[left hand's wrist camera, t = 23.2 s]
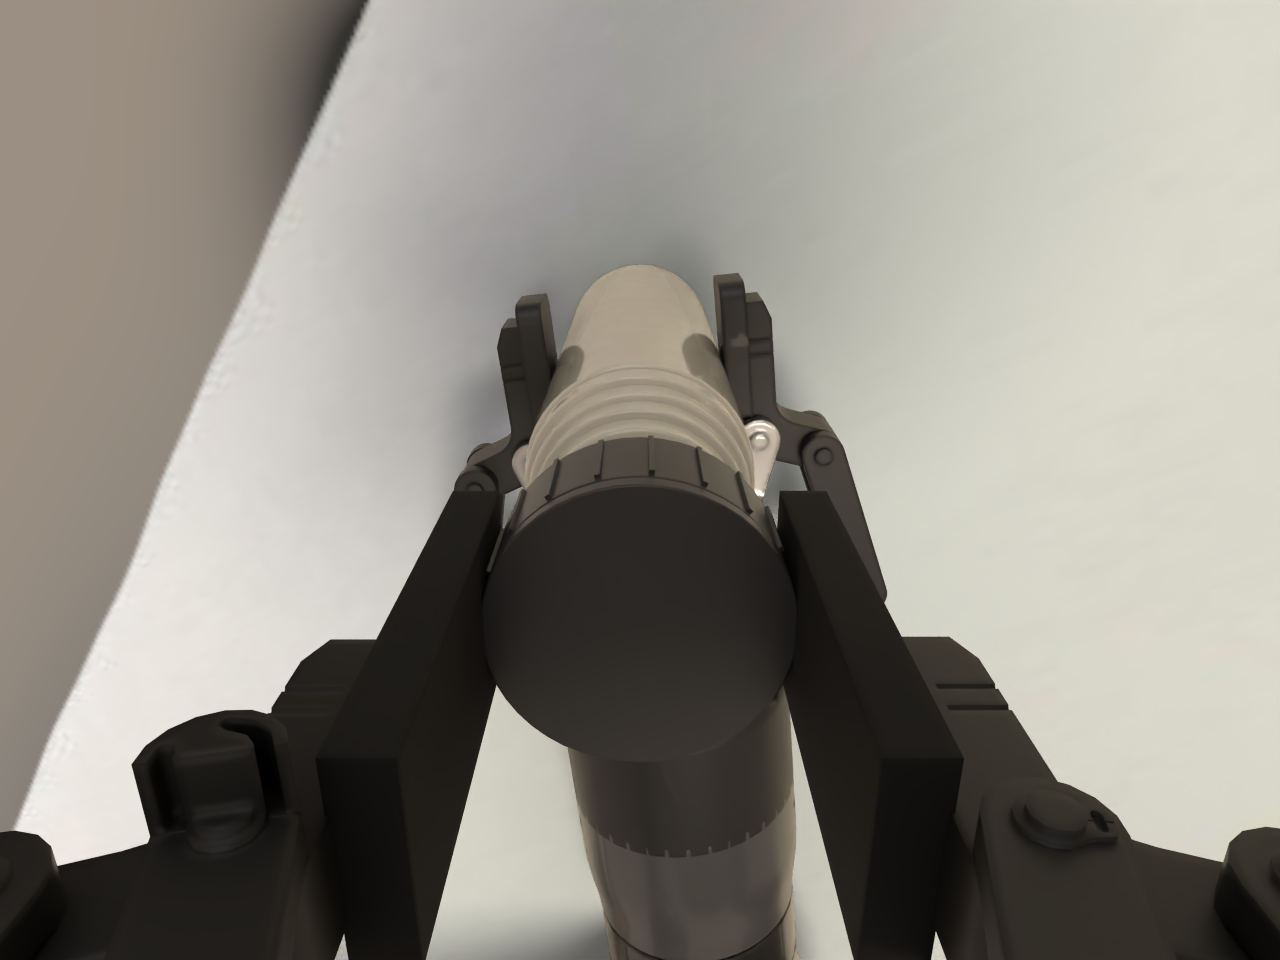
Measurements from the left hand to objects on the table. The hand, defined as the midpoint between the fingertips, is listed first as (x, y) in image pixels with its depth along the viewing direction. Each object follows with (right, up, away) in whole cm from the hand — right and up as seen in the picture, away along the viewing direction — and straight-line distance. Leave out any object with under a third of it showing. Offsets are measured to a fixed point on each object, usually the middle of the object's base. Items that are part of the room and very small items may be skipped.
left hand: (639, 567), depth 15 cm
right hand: (0, +7, +10) cm, 12 cm away
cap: (0, -1, -2) cm, 2 cm away
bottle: (0, +7, +17) cm, 18 cm away
